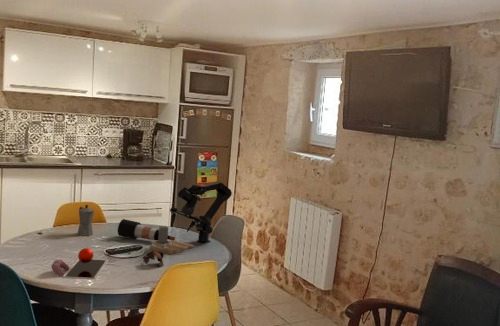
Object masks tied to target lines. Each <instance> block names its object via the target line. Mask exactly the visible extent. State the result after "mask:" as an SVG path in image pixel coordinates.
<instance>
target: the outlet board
mask: <svg viewBox="0 0 500 326" xmlns="http://www.w3.org/2000/svg"><path fill="white" fill-rule="evenodd" d="M194 248H195V245H194V244H191V243H187V242H183V241H179V240H176V239H175V240H167V243H166V244H161V243H158V240H152V241H151V245H149V250H152V251H156V252H159V251H162V252H163V254H167V255H171V256H172V255H176V254H178V253H182V252H185V251H188V250H191V249H194Z"/></svg>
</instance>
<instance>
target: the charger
mask: <svg viewBox="0 0 500 326" xmlns="http://www.w3.org/2000/svg"><path fill="white" fill-rule="evenodd" d="M158 230H159V237H158V243H161V244H166V243H167V241H168V235H169V227H168V226H166V225H160V226H158Z"/></svg>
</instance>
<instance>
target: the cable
mask: <svg viewBox="0 0 500 326" xmlns="http://www.w3.org/2000/svg"><path fill="white" fill-rule="evenodd" d="M117 235H118V236H120V237H124V238H129V239H132V240H137V239H138V238H141V239H145V240H151V241H157V240H158V237H159V228H158V229H157V228H153V227H150V226H146V225H142V224H141V222H139V221H134V220H130V219H125V218H122V219H121V220H120V222H119V224H118V226H117ZM170 240H175V241H176V236H173V235H172V236H171V235H169V234H168V239H167V241H170Z"/></svg>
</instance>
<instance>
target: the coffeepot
mask: <svg viewBox="0 0 500 326" xmlns="http://www.w3.org/2000/svg"><path fill="white" fill-rule="evenodd" d="M94 214H95V209H94V208H89V205H88V204H86V205H85V207H84V206H80V207H79V209H78V217H79V225H78V230H77V235H78V236H80V237H89V236H90V235H91V236H93V235H94V233H93V225H92V222H93V218H94ZM91 236H90V237H91Z"/></svg>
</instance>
